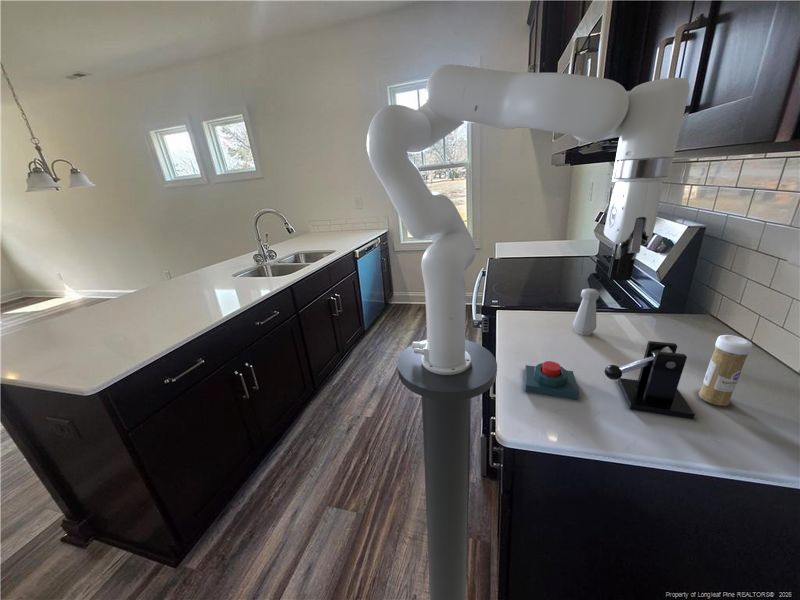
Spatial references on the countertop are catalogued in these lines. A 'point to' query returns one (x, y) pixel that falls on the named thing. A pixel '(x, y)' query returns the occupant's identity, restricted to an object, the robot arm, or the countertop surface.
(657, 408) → the switch bracket
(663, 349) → the switch lever
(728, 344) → the sprinkles bottle
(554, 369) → the stop button
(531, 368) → the stop block
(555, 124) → the robot arm
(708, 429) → the countertop surface
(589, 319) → the salt shaker
